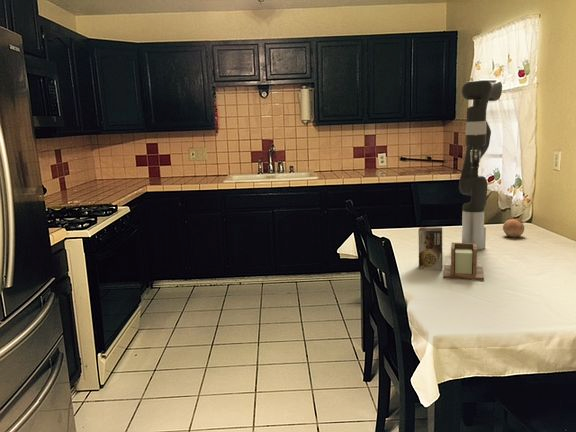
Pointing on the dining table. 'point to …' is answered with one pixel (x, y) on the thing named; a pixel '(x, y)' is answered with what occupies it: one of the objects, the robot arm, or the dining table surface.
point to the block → (463, 261)
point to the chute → (477, 271)
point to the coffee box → (430, 248)
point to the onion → (513, 228)
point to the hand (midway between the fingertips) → (474, 177)
